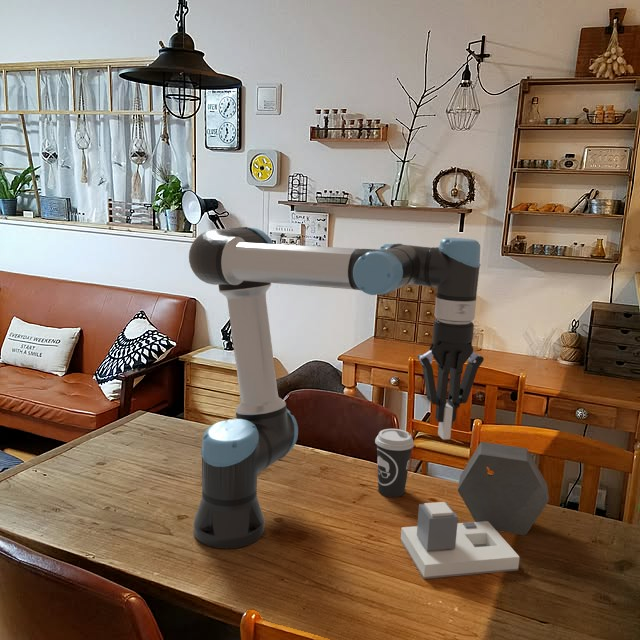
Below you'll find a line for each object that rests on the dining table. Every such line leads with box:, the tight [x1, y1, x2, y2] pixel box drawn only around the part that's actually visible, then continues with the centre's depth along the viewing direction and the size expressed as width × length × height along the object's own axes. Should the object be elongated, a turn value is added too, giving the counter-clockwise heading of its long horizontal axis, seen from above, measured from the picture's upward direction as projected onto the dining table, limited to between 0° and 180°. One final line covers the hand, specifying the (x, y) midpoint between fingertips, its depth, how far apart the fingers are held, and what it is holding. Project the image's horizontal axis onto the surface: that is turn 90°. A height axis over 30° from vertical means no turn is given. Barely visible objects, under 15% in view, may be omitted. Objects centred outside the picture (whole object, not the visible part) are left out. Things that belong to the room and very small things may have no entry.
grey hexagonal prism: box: [457, 441, 550, 536], centre depth 145 cm, size 17×8×21 cm
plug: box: [416, 501, 459, 551], centre depth 131 cm, size 6×6×11 cm
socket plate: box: [400, 521, 520, 580], centre depth 133 cm, size 20×14×3 cm
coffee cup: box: [374, 428, 415, 498], centre depth 159 cm, size 10×10×15 cm
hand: (443, 436), depth 127 cm, fingers closed
